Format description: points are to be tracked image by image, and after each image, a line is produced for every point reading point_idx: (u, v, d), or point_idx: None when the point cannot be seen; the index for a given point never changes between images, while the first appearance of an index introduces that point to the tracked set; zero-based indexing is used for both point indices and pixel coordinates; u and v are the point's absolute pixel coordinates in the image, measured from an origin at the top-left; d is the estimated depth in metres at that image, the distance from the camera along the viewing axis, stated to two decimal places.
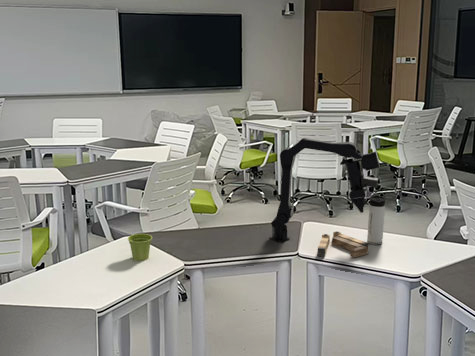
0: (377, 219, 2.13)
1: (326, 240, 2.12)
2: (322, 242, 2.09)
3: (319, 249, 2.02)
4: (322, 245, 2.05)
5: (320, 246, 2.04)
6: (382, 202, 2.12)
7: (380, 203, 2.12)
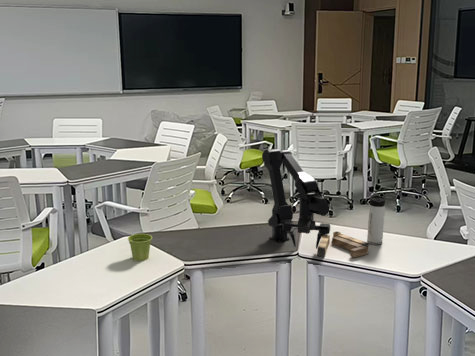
0: (377, 219, 2.13)
1: (326, 240, 2.12)
2: (322, 242, 2.09)
3: (319, 249, 2.02)
4: (322, 245, 2.05)
5: (320, 246, 2.04)
6: (382, 202, 2.12)
7: (380, 203, 2.12)
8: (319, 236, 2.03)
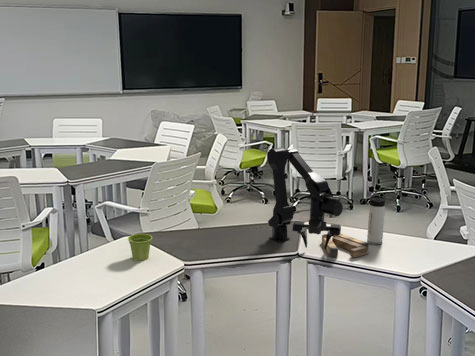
0: (377, 219, 2.13)
1: (330, 240, 2.12)
2: (329, 242, 2.09)
3: (332, 250, 2.01)
4: (332, 246, 2.05)
5: (331, 247, 2.04)
6: (382, 202, 2.12)
7: (380, 203, 2.12)
8: (328, 237, 2.03)
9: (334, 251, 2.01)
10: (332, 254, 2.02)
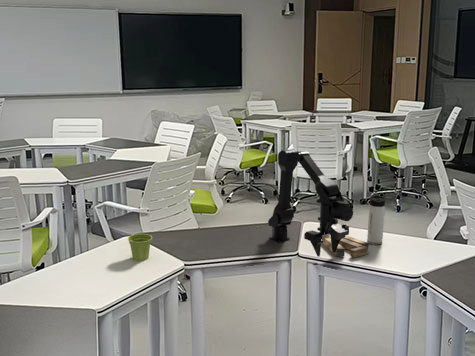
0: (377, 219, 2.13)
1: None
2: None
3: (339, 249, 2.02)
4: None
5: None
6: (382, 202, 2.12)
7: (380, 203, 2.12)
8: (340, 239, 2.00)
9: (341, 251, 2.02)
10: (339, 254, 2.02)
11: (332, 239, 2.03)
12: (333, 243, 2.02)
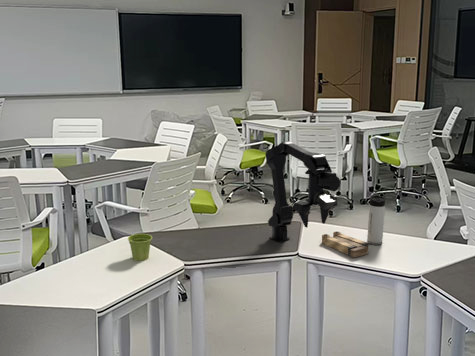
0: (377, 219, 2.13)
1: (336, 239, 2.13)
2: (338, 241, 2.10)
3: (351, 248, 2.03)
4: (346, 244, 2.06)
5: (347, 245, 2.05)
6: (382, 202, 2.12)
7: (380, 203, 2.12)
8: (329, 209, 2.03)
9: None
10: None
11: (322, 210, 2.06)
12: (323, 214, 2.05)
